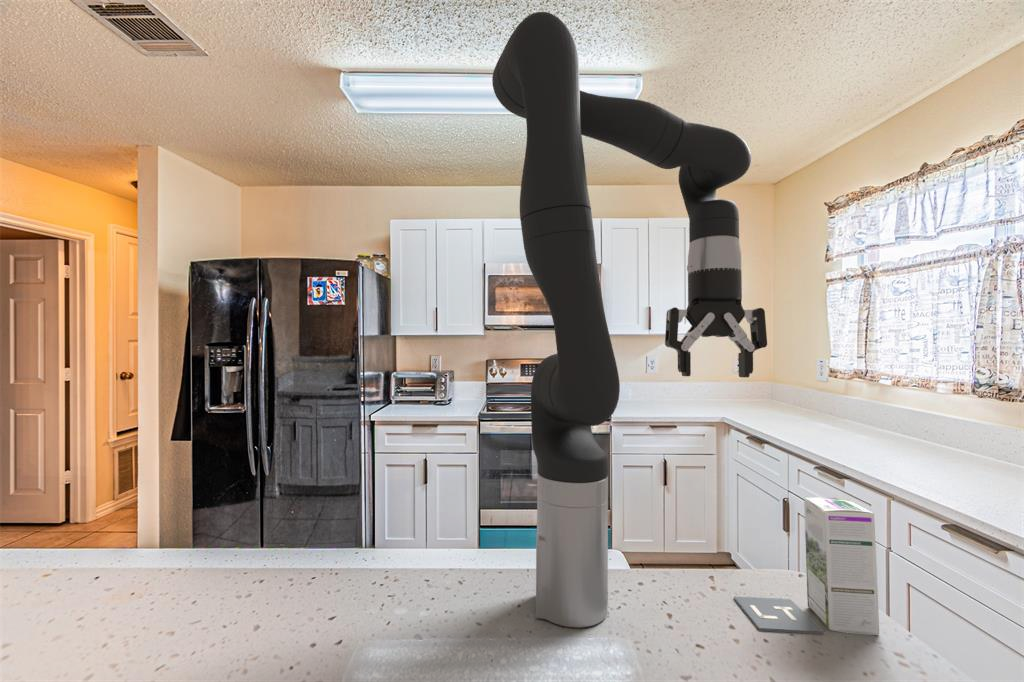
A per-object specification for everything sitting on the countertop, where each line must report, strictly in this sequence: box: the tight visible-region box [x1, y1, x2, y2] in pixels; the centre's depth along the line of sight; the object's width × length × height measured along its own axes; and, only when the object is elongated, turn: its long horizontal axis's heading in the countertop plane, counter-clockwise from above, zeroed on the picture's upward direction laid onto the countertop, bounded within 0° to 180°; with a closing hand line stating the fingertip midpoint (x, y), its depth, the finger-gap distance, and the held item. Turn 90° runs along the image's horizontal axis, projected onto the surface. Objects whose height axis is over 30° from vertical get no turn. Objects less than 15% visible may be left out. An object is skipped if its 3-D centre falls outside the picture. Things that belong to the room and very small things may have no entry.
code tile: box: [733, 595, 825, 635], centre depth 58 cm, size 7×7×1 cm
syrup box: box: [803, 496, 880, 636], centre depth 57 cm, size 6×6×14 cm
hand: (715, 376), depth 68 cm, fingers open, 8 cm apart
